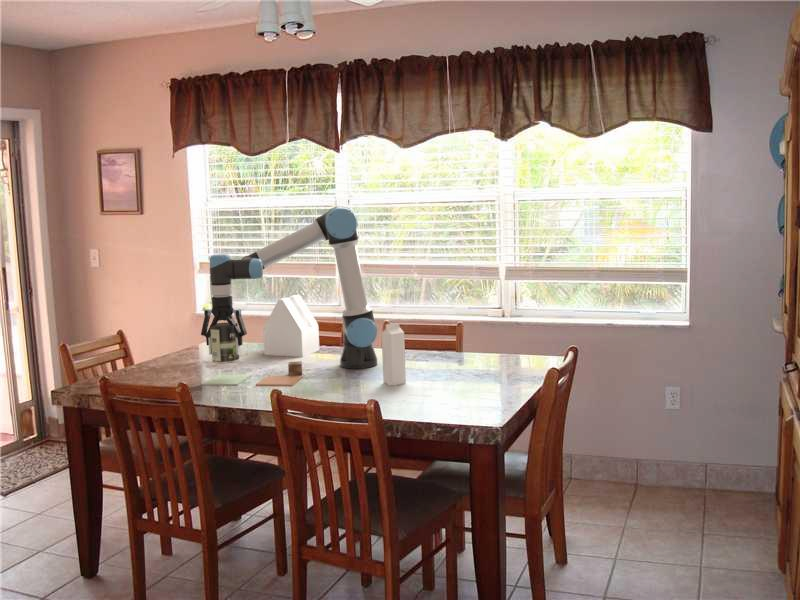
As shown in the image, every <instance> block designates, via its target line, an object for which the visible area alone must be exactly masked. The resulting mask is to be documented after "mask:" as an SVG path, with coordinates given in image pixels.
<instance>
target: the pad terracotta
mask: <svg viewBox="0 0 800 600" xmlns="http://www.w3.org/2000/svg"><path fill="white" fill-rule="evenodd" d="M303 378H304V375H302V376H291V375H289V374H288V375H284V374H283V375H281V374H279V375H273V374H272V375H271V374H269V375H266V376H265V377H263V378H262V379H261V380H259V381H258V382H257V383H255V386H259V387H264V386H265V387H267V386H268V387H294V385H296V384H297V383H299V381H300V380H302V379H303Z"/></svg>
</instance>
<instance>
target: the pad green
mask: <svg viewBox="0 0 800 600" xmlns="http://www.w3.org/2000/svg"><path fill="white" fill-rule="evenodd" d="M251 377H252V375H251V374H249V375H248V374H216V375H214V376H212V377H211V378H209V379H207V380H206V381H204V382H203V383H202V384H201V385H202V386H239V385H241V384H243V383H244V382H245V381H246V380H248V379H250V378H251Z"/></svg>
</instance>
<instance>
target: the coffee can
mask: <svg viewBox="0 0 800 600" xmlns="http://www.w3.org/2000/svg"><path fill="white" fill-rule="evenodd" d="M235 323H236V325H230V324H229V323H228V322H217V324H216V325H214V326H212V325H211V324H210V325H209V327H210V331H211V347H212V354H211V357H212V359H211V360H212V361H211V362H212V363H213V364H218V365H219V364H220V365H223V364H234V363H237V362H239V361H240V354H239V355H236V341H235V338H236V337H237V335H236V334H235V332H234V326H238V327H239V325H238V322H235Z"/></svg>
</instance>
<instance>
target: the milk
mask: <svg viewBox="0 0 800 600" xmlns="http://www.w3.org/2000/svg"><path fill="white" fill-rule="evenodd" d="M405 345H406V344H405V331H404V330H403V329H402V328H401V327H400V323H399V322H396V323H388V324H385V329H384V330H383V331H382V332H381V353H382V378H383V379H382V382H383V384H385V383H387V384H386V385H389V384H390V385H389V386H392V385H394V386H398V385H397V384H399V385H404V384H406V383H407V380H406V379H407V378H406V373H407V372H406V355H405V354H406V348H405Z"/></svg>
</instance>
